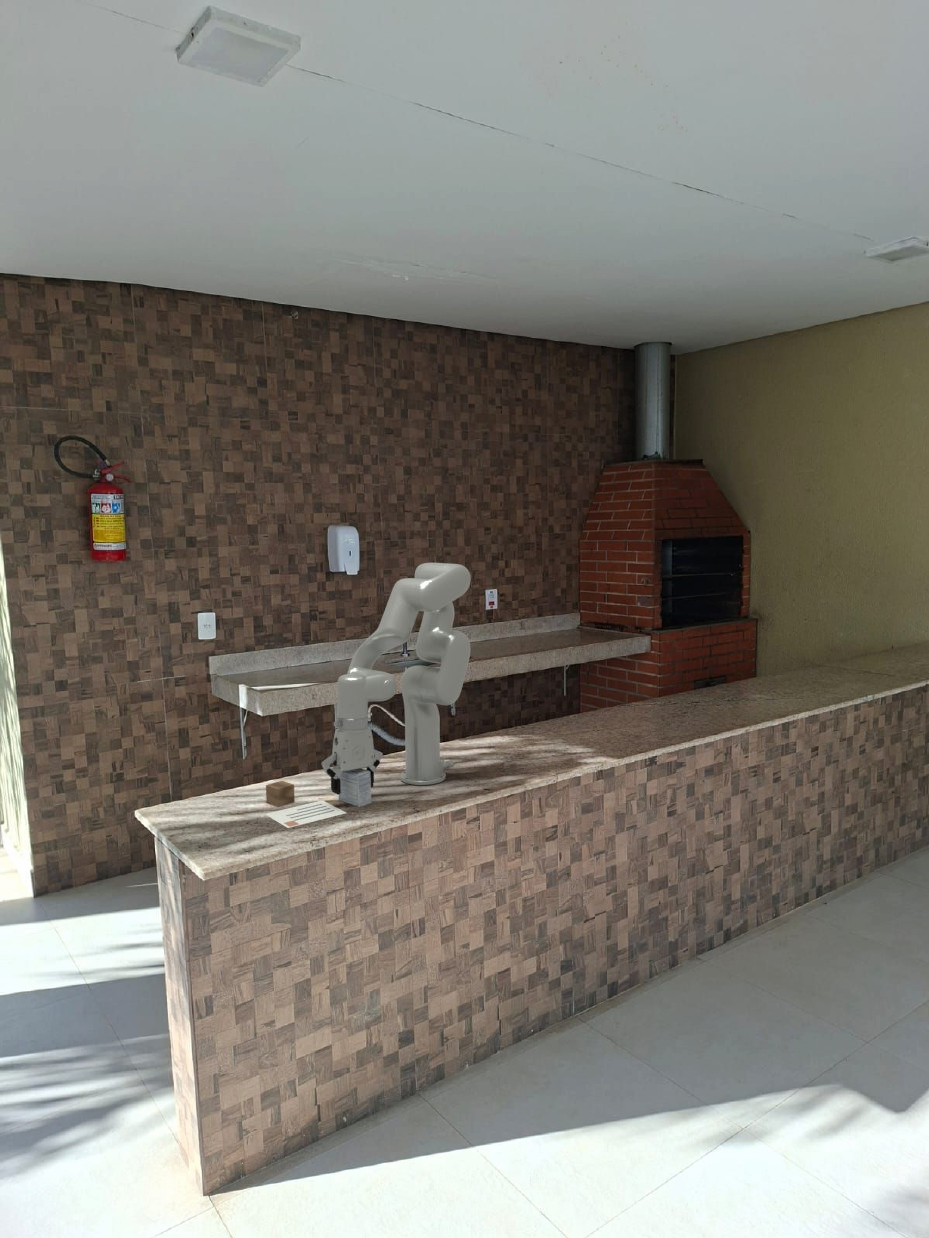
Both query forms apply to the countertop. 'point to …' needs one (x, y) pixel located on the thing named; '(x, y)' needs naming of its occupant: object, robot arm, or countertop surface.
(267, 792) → the walnut block
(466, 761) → the countertop surface
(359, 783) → the medicine box
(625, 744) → the countertop surface
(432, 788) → the countertop surface
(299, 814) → the letter
